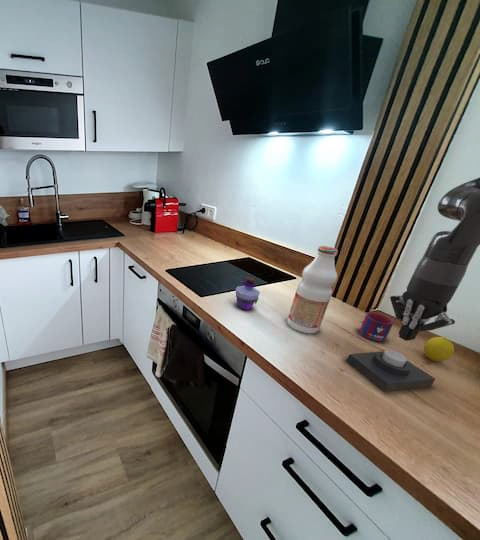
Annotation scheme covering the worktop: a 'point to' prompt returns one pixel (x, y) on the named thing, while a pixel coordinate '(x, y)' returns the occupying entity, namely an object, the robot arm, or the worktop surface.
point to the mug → (376, 327)
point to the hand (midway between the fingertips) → (404, 338)
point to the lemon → (438, 348)
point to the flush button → (394, 358)
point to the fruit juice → (314, 292)
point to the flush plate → (389, 372)
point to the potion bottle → (247, 294)
